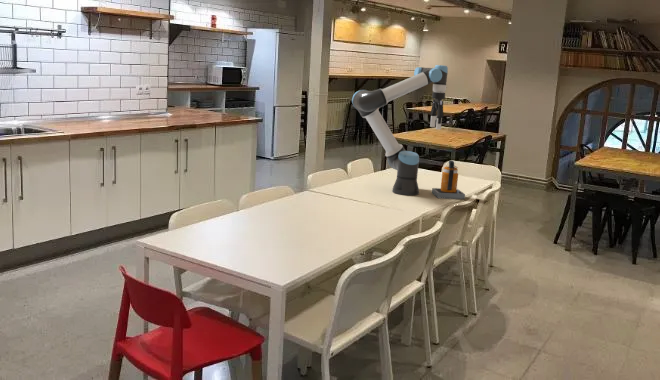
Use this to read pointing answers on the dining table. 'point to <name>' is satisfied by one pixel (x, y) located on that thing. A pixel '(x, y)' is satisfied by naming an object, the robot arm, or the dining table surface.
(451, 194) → the bin
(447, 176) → the canister
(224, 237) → the dining table surface
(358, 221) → the dining table surface
